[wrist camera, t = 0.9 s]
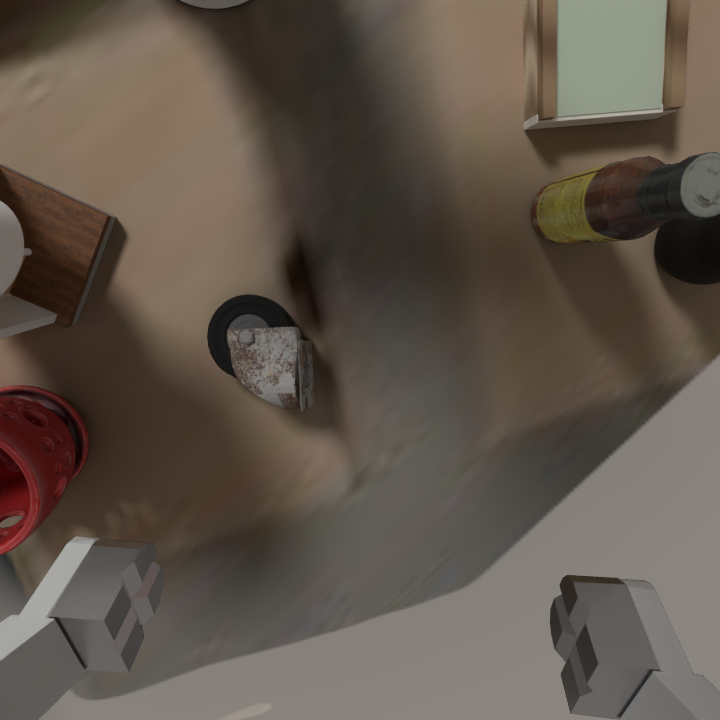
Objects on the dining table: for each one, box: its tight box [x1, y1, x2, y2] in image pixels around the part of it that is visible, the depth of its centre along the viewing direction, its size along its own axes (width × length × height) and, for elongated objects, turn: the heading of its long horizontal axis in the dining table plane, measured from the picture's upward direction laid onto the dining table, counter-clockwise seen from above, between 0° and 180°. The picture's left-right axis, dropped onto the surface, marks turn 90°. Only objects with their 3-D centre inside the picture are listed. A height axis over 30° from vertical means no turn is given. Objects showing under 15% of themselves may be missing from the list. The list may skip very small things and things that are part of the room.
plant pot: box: [0, 385, 89, 555], centre depth 46 cm, size 13×13×12 cm
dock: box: [523, 0, 690, 130], centre depth 45 cm, size 14×13×4 cm
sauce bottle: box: [531, 152, 720, 243], centre depth 41 cm, size 7×6×20 cm
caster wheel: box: [207, 294, 315, 412], centre depth 49 cm, size 7×11×10 cm
